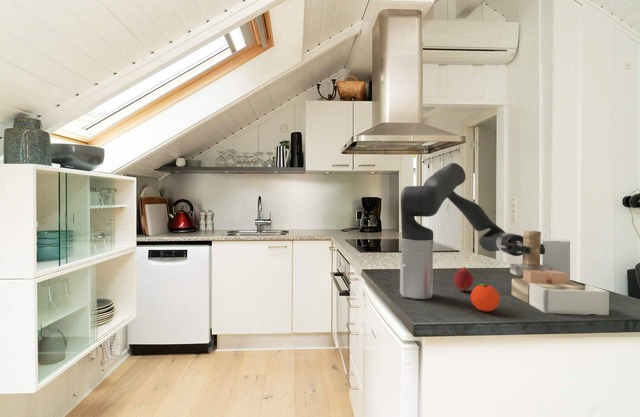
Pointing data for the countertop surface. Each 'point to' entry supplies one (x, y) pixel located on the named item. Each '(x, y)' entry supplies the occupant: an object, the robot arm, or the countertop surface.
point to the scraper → (532, 259)
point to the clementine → (485, 297)
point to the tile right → (556, 277)
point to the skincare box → (557, 255)
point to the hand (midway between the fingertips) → (536, 250)
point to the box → (570, 300)
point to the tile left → (534, 276)
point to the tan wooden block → (522, 287)
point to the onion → (463, 279)
